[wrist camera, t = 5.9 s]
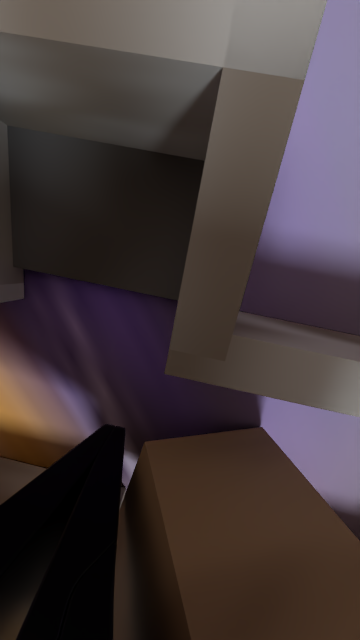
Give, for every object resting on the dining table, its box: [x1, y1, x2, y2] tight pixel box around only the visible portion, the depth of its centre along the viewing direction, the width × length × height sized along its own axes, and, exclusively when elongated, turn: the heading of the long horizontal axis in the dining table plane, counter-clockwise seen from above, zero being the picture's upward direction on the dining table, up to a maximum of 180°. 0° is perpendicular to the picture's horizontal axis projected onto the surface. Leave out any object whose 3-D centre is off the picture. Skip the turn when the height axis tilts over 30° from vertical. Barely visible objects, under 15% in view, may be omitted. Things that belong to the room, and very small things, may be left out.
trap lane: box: [0, 0, 360, 510], centre depth 7 cm, size 25×21×4 cm
